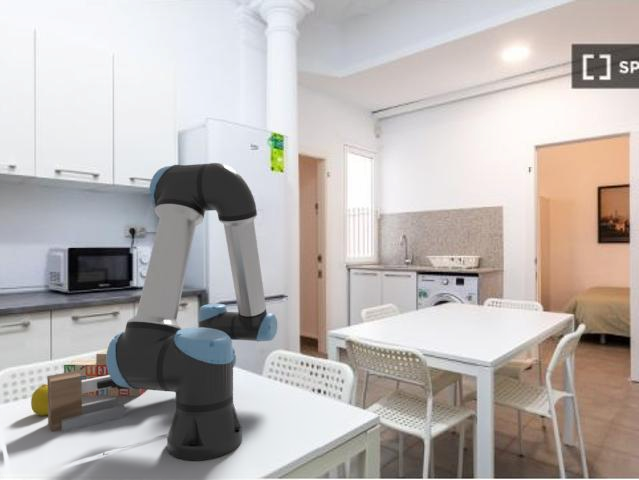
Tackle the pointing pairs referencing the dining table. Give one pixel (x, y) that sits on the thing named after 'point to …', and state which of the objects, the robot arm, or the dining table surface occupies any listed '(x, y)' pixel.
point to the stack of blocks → (98, 374)
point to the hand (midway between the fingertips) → (80, 387)
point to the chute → (94, 414)
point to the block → (63, 398)
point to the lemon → (40, 400)
